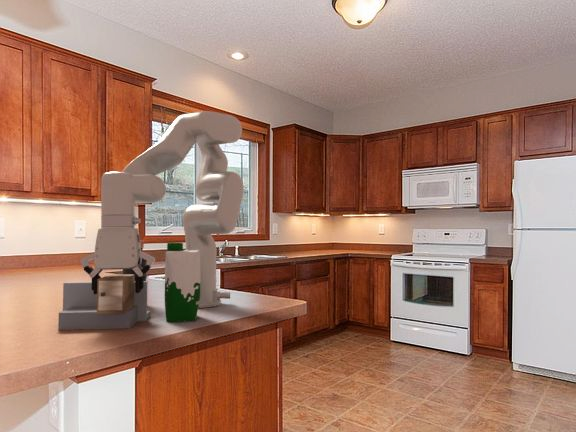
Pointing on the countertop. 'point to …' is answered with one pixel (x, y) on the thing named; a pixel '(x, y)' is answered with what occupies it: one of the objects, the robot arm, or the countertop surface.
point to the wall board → (84, 309)
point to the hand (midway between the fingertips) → (118, 292)
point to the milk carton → (181, 283)
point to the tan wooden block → (115, 293)
